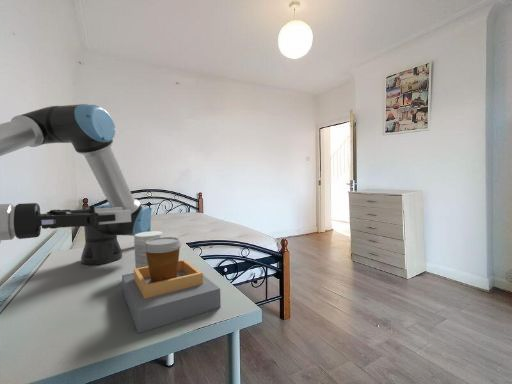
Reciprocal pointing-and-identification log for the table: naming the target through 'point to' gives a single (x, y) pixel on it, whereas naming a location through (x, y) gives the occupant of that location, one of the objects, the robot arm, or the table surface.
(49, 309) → the table surface
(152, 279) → the disposable coffee cup
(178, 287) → the grey platform
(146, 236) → the supplement tub
